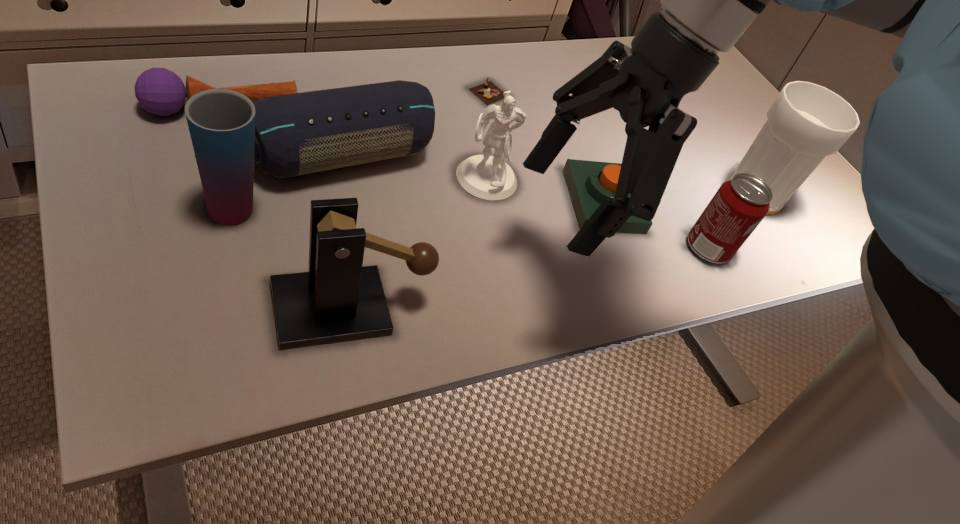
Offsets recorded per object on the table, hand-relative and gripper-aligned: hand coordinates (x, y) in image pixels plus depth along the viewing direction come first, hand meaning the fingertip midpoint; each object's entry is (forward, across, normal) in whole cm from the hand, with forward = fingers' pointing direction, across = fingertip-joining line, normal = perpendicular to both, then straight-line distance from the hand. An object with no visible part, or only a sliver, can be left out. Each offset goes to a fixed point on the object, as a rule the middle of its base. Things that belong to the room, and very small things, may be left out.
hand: (553, 208), depth 69 cm
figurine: (+11, +22, -6) cm, 25 cm away
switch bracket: (+22, +2, +16) cm, 27 cm away
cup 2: (-4, +17, -47) cm, 50 cm away
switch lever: (+12, +1, +15) cm, 20 cm away
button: (+2, +16, -20) cm, 26 cm away
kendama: (+22, +36, +27) cm, 50 cm away
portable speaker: (+18, +26, +13) cm, 34 cm away
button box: (+6, +16, -21) cm, 27 cm away
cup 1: (+24, +17, +26) cm, 39 cm away
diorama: (+7, +41, -10) cm, 43 cm away
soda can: (+2, +7, -34) cm, 35 cm away
